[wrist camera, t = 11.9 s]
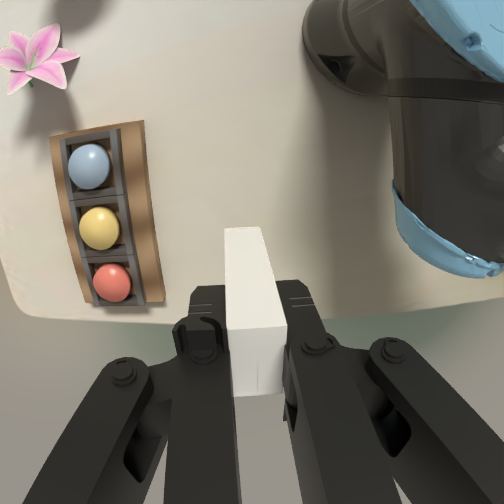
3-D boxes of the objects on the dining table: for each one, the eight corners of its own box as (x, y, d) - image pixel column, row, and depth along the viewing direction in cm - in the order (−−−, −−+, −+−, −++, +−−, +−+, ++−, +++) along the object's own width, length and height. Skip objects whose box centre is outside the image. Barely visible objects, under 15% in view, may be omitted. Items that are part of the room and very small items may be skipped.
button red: (92, 263, 37) (88, 269, 35) (127, 261, 37) (124, 267, 36) (101, 295, 39) (98, 302, 38) (135, 295, 39) (132, 301, 38)
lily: (86, 105, 32) (80, 67, 23) (3, 134, 27) (-24, 107, 18) (79, 35, 30) (76, -9, 21) (2, 61, 26) (-16, 24, 17)
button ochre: (80, 208, 34) (75, 212, 32) (117, 204, 34) (113, 208, 32) (88, 245, 36) (84, 251, 34) (124, 243, 36) (120, 248, 35)
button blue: (71, 147, 30) (65, 149, 29) (109, 140, 31) (104, 142, 29) (77, 188, 32) (71, 191, 31) (114, 183, 33) (109, 186, 31)
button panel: (56, 135, 32) (43, 139, 29) (143, 120, 32) (135, 121, 29) (90, 295, 42) (82, 308, 39) (165, 293, 43) (161, 308, 40)
